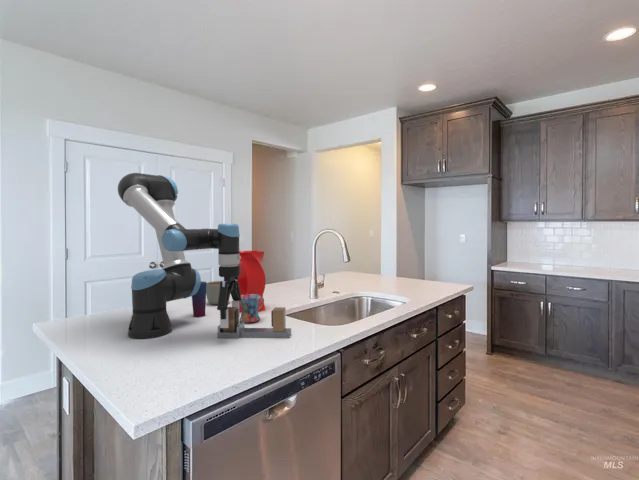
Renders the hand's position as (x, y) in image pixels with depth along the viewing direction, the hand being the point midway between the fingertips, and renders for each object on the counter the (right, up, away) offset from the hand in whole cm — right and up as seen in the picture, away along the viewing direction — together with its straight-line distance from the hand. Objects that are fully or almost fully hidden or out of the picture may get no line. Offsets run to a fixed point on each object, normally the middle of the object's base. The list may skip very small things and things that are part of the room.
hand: (230, 322), depth 131 cm
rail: (+9, -5, 0) cm, 10 cm away
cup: (-21, -4, +28) cm, 36 cm away
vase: (-1, -3, +39) cm, 39 cm away
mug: (+4, -4, +20) cm, 21 cm away
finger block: (0, -3, 0) cm, 3 cm away
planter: (-19, -3, +52) cm, 56 cm away
